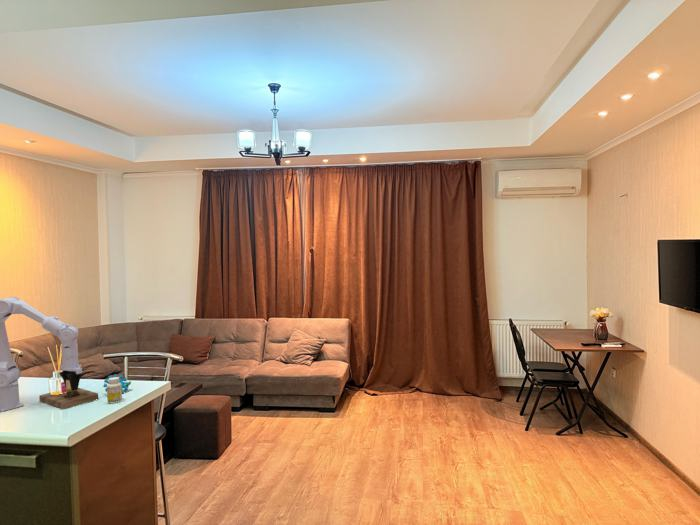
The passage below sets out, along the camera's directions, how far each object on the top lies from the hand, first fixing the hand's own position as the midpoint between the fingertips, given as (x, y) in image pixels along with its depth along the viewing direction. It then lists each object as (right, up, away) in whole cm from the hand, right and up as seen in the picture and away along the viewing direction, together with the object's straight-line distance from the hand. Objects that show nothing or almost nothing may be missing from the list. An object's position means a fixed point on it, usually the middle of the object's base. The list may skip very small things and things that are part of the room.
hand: (72, 388), depth 197 cm
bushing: (0, -2, 0) cm, 2 cm away
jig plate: (-2, -5, +2) cm, 6 cm away
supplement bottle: (+18, -5, -2) cm, 19 cm away
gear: (+14, -5, +11) cm, 18 cm away
